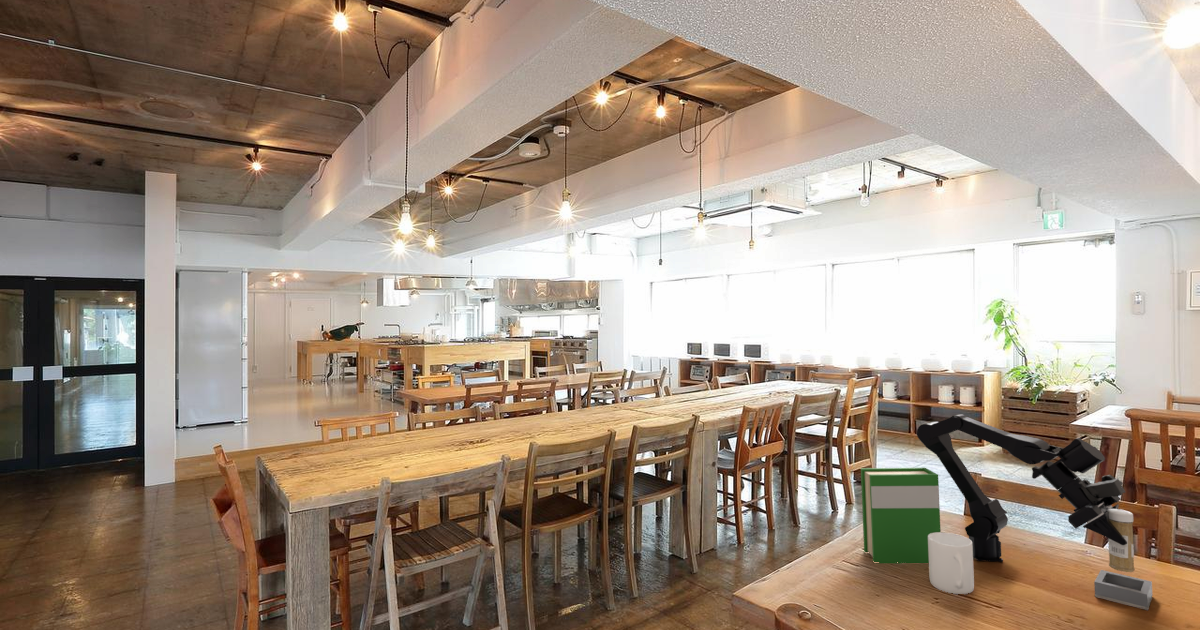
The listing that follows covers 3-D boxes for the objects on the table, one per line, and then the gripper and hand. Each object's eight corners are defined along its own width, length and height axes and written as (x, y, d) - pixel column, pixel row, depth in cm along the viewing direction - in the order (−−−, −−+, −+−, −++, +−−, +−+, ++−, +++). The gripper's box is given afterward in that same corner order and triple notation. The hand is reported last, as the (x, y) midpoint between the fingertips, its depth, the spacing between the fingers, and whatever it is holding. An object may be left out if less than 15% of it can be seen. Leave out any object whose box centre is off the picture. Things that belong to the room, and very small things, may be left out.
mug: (957, 576, 146) (955, 531, 146) (991, 599, 134) (989, 549, 134) (921, 579, 146) (919, 533, 146) (952, 601, 134) (950, 551, 134)
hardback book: (874, 563, 156) (870, 475, 156) (864, 552, 163) (860, 468, 163) (941, 563, 154) (938, 474, 154) (928, 552, 161) (925, 467, 162)
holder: (1147, 610, 127) (1147, 594, 127) (1094, 596, 134) (1094, 581, 134) (1152, 596, 133) (1151, 581, 133) (1101, 584, 140) (1100, 569, 140)
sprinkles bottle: (1139, 571, 132) (1138, 513, 132) (1124, 573, 131) (1123, 515, 131) (1117, 563, 136) (1116, 507, 136) (1103, 565, 135) (1101, 508, 135)
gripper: (1084, 472, 131) (1150, 534, 122) (1108, 458, 142) (1171, 515, 133) (1043, 498, 138) (1104, 558, 129) (1069, 483, 149) (1127, 538, 140)
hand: (1128, 541), depth 132 cm, fingers closed on sprinkles bottle, 4 cm apart
